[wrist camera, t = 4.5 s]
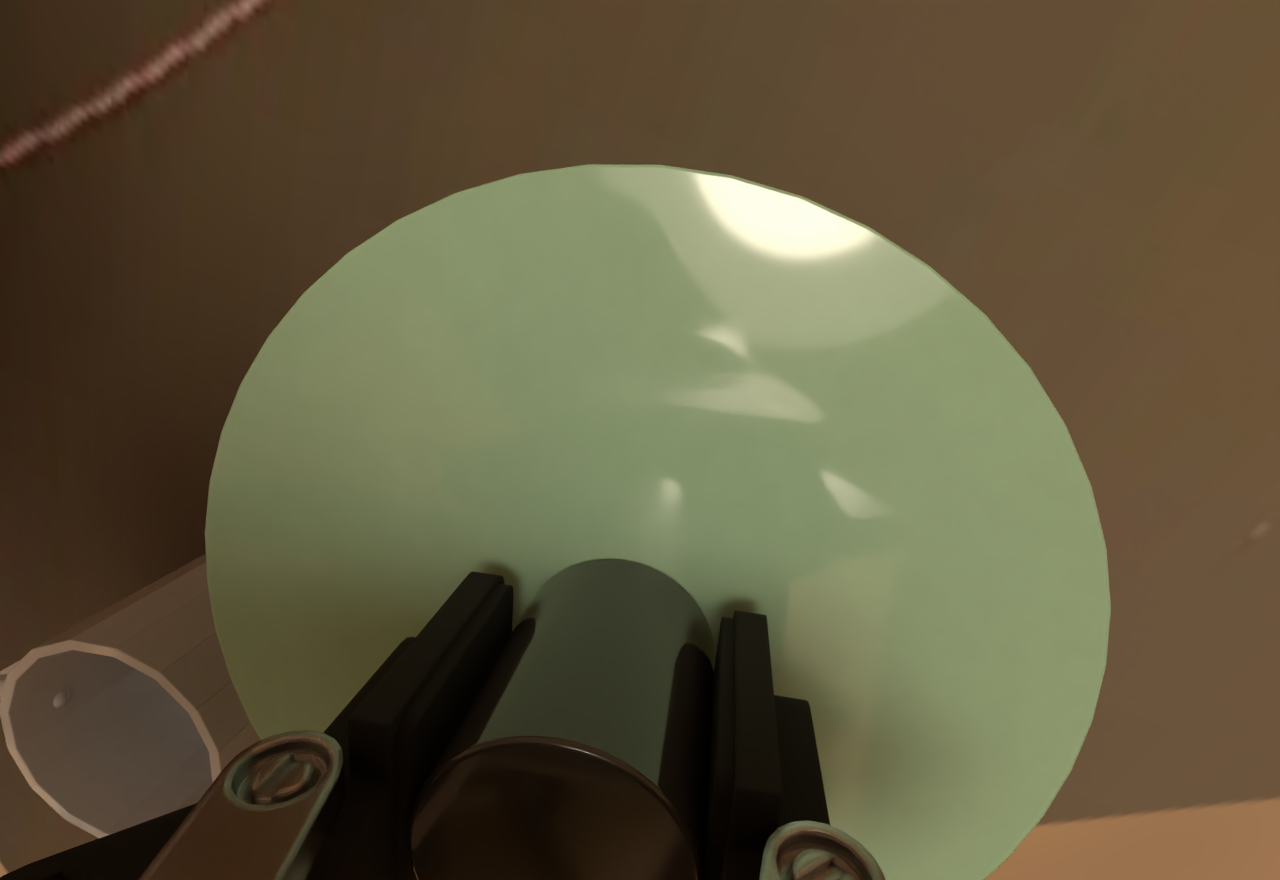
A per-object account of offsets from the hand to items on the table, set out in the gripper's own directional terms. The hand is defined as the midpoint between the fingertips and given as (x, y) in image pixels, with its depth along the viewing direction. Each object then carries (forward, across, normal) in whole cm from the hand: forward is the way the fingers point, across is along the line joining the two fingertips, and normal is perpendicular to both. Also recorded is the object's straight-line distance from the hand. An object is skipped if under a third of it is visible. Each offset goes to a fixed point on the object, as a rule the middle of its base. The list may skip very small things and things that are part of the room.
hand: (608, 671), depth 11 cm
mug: (+10, +15, +7) cm, 19 cm away
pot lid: (+1, 0, 0) cm, 1 cm away
